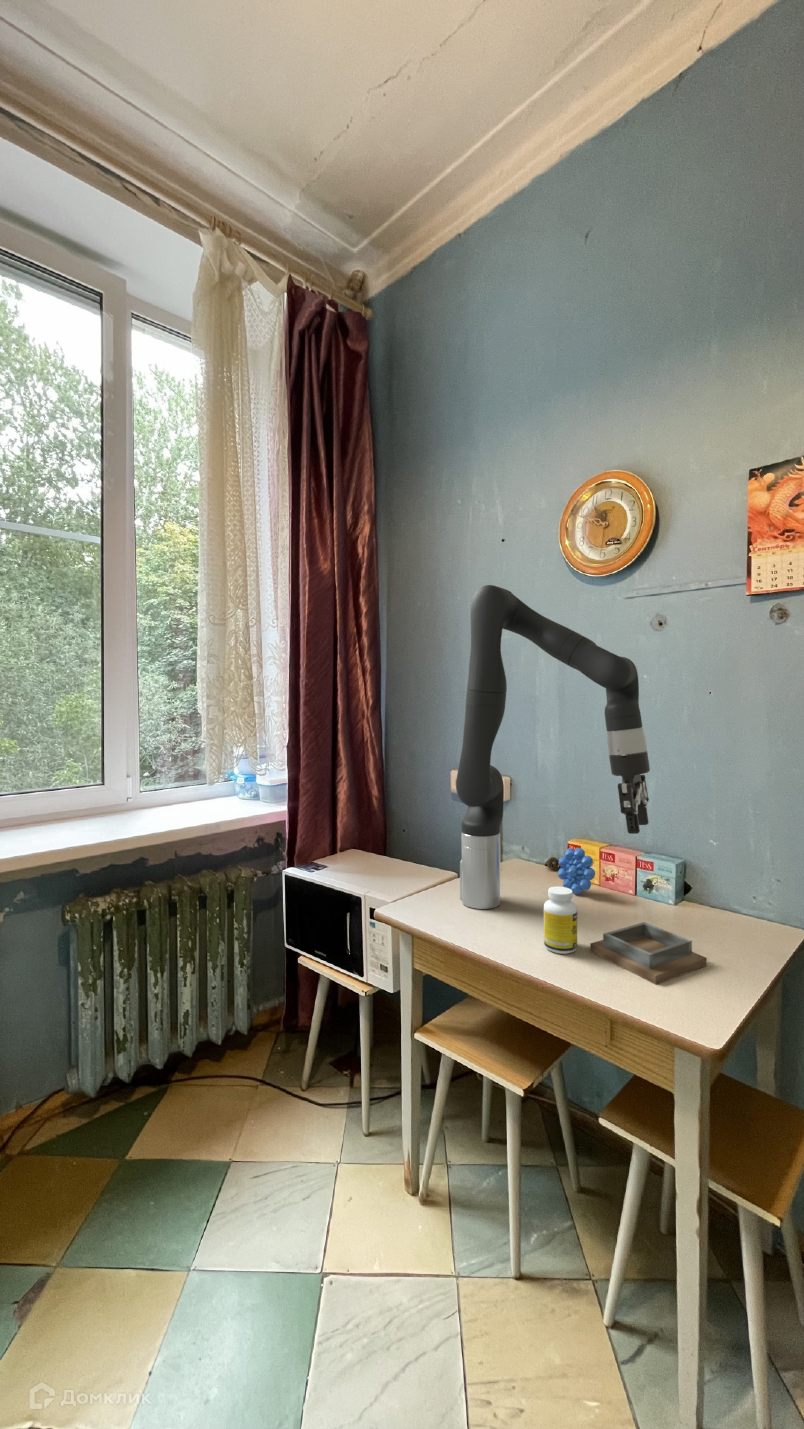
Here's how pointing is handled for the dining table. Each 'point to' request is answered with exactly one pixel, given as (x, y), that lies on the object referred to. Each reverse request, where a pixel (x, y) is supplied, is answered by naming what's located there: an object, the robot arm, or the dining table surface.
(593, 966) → the dining table surface
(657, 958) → the collar board
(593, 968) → the dining table surface
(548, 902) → the pill bottle
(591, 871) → the grapes
